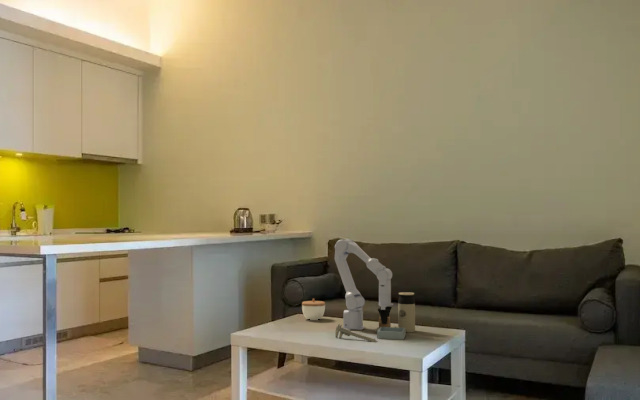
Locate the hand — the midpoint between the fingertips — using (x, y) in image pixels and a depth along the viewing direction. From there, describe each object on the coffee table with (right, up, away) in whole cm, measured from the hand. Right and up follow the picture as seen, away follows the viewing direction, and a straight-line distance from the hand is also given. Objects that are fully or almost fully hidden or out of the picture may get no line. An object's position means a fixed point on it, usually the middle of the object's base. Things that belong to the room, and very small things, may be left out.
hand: (384, 322), depth 267 cm
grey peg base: (0, -4, 0) cm, 4 cm away
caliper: (-15, -3, -20) cm, 25 cm away
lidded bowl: (-34, -6, +35) cm, 49 cm away
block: (0, -2, 0) cm, 2 cm away
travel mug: (+10, -4, 0) cm, 11 cm away
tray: (+2, -3, -13) cm, 13 cm away
